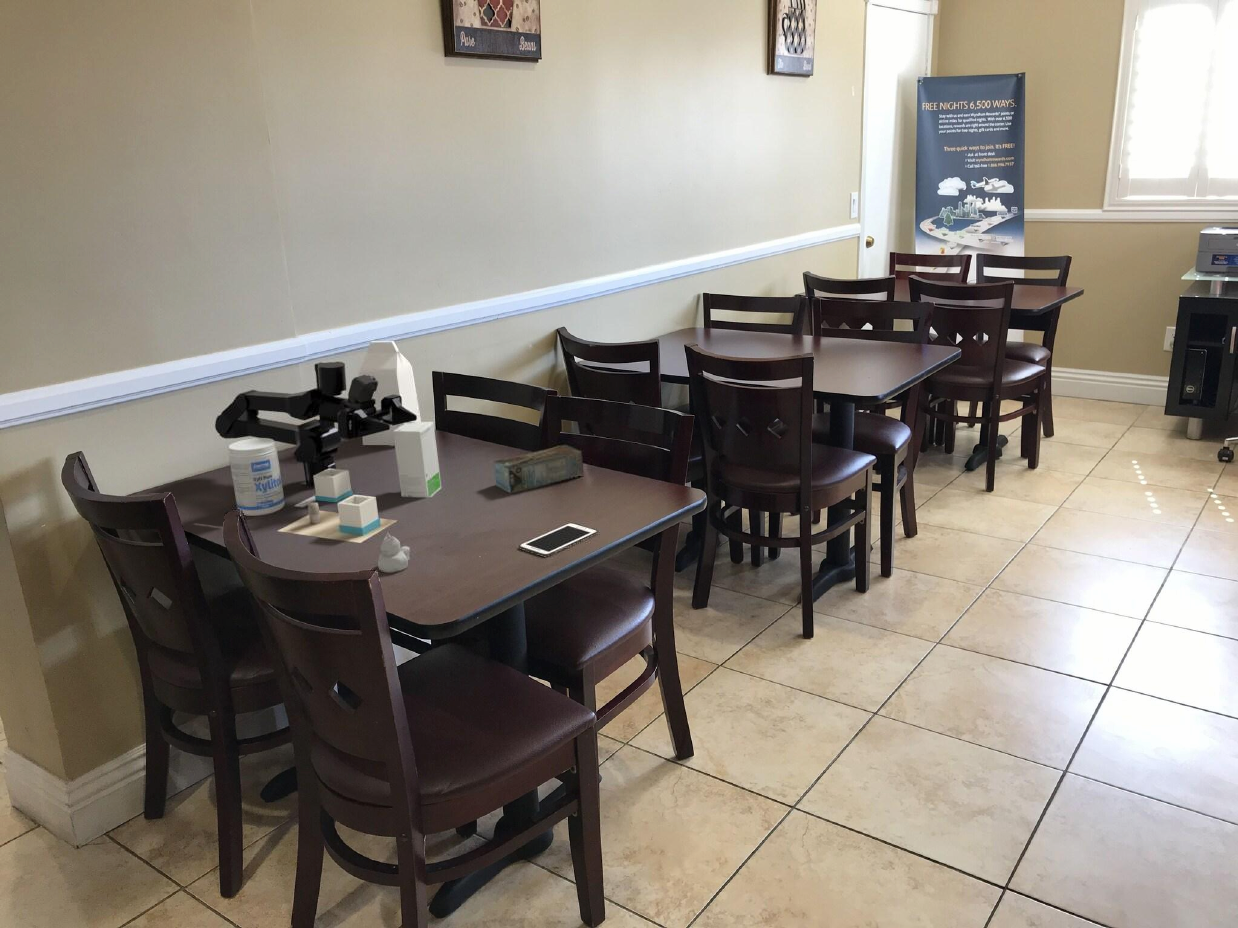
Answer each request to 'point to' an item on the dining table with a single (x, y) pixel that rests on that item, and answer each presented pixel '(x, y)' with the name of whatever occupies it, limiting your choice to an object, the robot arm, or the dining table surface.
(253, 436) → the robot arm
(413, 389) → the milk
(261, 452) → the supplement tub
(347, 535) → the pin board
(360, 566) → the dining table surface
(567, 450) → the beverage carton
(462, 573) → the dining table surface
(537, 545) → the cell phone
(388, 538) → the white figurine
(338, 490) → the sleeve
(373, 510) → the sleeve
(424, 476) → the skincare box
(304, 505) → the mat
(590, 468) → the dining table surface
